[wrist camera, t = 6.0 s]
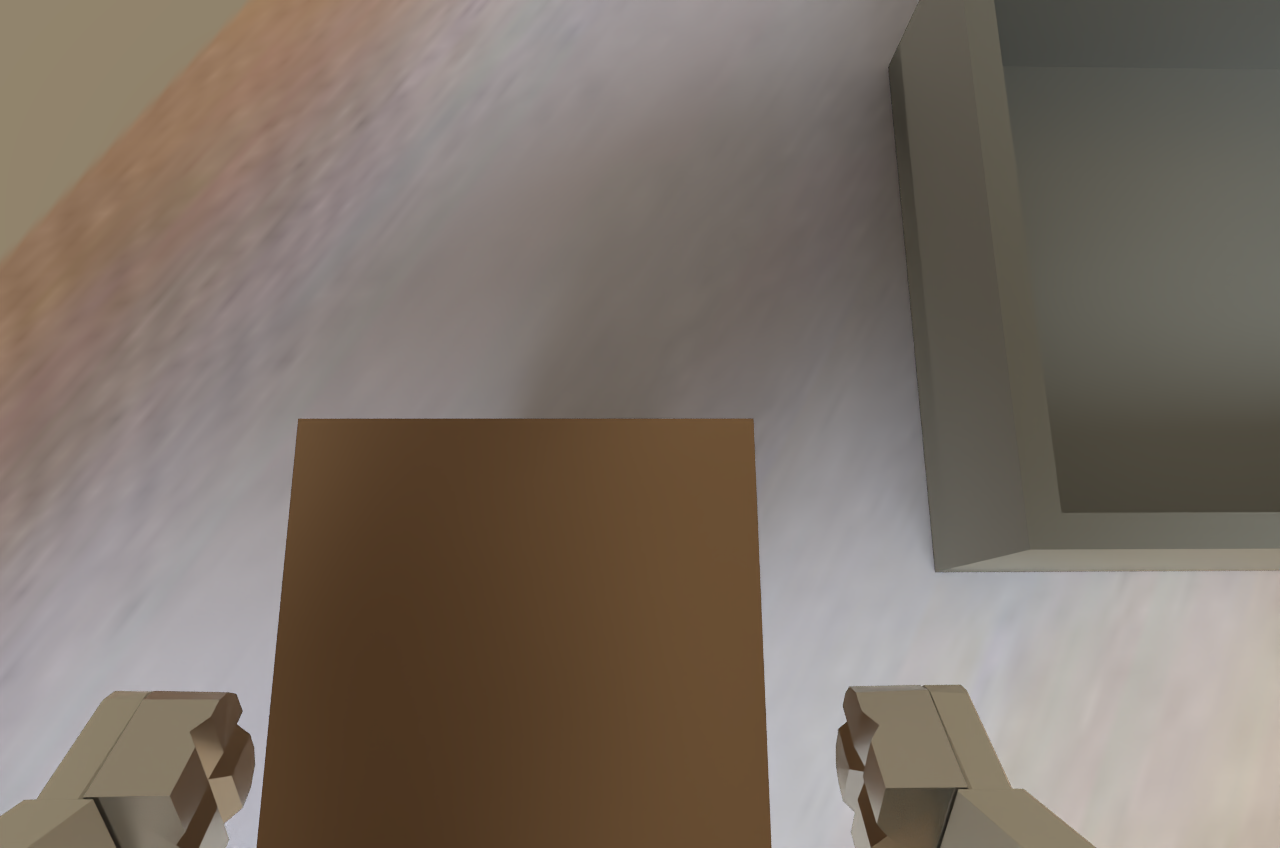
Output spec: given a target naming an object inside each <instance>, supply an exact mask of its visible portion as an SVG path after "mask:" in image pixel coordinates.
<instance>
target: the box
mask: <svg viewBox="0 0 1280 848" xmlns="http://www.w3.org/2000/svg"><path fill="white" fill-rule="evenodd" d="M888 68H889V79H890V90H891V101H892V111H893V122H894V133H895V144H896V154H897V165H898V176H899V187H900V197H901V208H902V219H903V230H904V241H905V251H906V262H907V273H908V284H909V294H910V305H911V316H912V327H913V337H914V348H915V359H916V370H917V381H918V391H919V402H920V413H921V424H922V434H923V445H924V456H925V467H926V477H927V488H928V499H929V510H930V521H931V531H932V542H933V553H934V564H935V572H1071V571H1277V570H1280V0H919V3H918V5H917V7H916V9H915V11H914V13H913V15H912V18H911V20H910V22H909V24H908V26H907V28H906V30H905V33H904V35H903V37H902V39H901V41H900V43H899V45H898V48H897V50H896V52H895V54H894V56H893V58H892V60H891V63H890V65H889V67H888Z"/></svg>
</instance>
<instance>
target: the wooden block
mask: <svg viewBox="0 0 1280 848" xmlns="http://www.w3.org/2000/svg"><path fill="white" fill-rule="evenodd" d="M257 848H771V827H770V803H769V779H768V755H767V731H766V707H765V683H764V659H763V635H762V612H761V588H760V564H759V540H758V516H757V492H756V468H755V444H754V420H753V419H298V427H297V437H296V448H295V458H294V468H293V478H292V489H291V499H290V509H289V520H288V530H287V540H286V551H285V561H284V571H283V581H282V592H281V602H280V612H279V623H278V633H277V643H276V654H275V664H274V674H273V684H272V695H271V705H270V715H269V726H268V736H267V746H266V757H265V767H264V777H263V787H262V798H261V808H260V818H259V829H258V839H257Z"/></svg>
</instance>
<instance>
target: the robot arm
mask: <svg viewBox="0 0 1280 848" xmlns="http://www.w3.org/2000/svg"><path fill="white" fill-rule="evenodd" d="M843 708H844V712H845V716H846V719H847V722H846V723H845V724H844V725H843V726H841V727H840V728H839V729H838V736H837V742H836V769H837V776H838V782H839V787H840V791H841V795H842V799H843V801H844V802H845V803H846V804H847V805H848V806H849V807H850V808H851V809H852V810H853V811H854V812H855V814H854V819H853V824H852V829H851V834H852V838H853V842H854V846H855V848H1096V847H1095V846H1093V845H1092V844H1091V843H1090V842H1088V841H1087V840H1086V839H1085V838H1084V837H1082V836H1081V835H1080V834H1079V833H1077V832H1076V831H1075V830H1074V829H1072V828H1071V827H1070V826H1069V825H1068V824H1066V823H1065V822H1064V821H1063V820H1061V819H1060V818H1059V817H1058V816H1056V815H1055V814H1054V813H1053V812H1052V811H1050V810H1049V809H1048V808H1047V807H1045V806H1044V805H1043V804H1042V803H1040V802H1039V801H1038V800H1037V799H1035V798H1034V797H1033V796H1032V795H1031V794H1029V793H1028V792H1027V791H1026V790H1024V789H1012V787H1011V785H1010V783H1009V780H1008V778H1007V776H1006V774H1005V772H1004V770H1003V767H1002V765H1001V763H1000V761H999V759H998V757H997V755H996V752H995V750H994V748H993V746H992V744H991V742H990V739H989V737H988V735H987V733H986V731H985V729H984V726H983V724H982V722H981V720H980V718H979V716H978V713H977V711H976V709H975V707H974V705H973V703H972V701H971V698H970V696H969V694H968V692H967V690H966V689H965V688H963V687H962V686H961V685H923V686H921V685H891V686H849V688H848V690H847V691H846V693H845V698H844V703H843ZM242 712H243V711H242V708H241V705H240V703H239V700H238V697H237V695H236V694H234V693H229V692H179V691H115V692H113V693H112V694H110V695H109V696H108V697H106V698H105V699H104V700H103V701H102V702H101V703H100V705H99V706H98V708H97V709H96V711H95V712H94V714H93V715H92V717H91V718H90V720H89V721H88V723H87V724H86V726H85V727H84V729H83V730H82V732H81V733H80V735H79V736H78V738H77V739H76V741H75V742H74V744H73V745H72V747H71V748H70V750H69V751H68V753H67V754H66V756H65V757H64V759H63V760H62V762H61V763H60V765H59V766H58V768H57V769H56V771H55V772H54V774H53V775H52V777H51V778H50V780H49V781H48V783H47V784H46V786H45V787H44V789H43V790H42V792H41V793H40V795H39V796H38V798H37V799H36V800H23V801H22V802H21V803H19V804H18V805H16V806H15V807H13V808H12V809H10V810H9V811H7V812H6V813H5V814H3V815H2V816H0V848H226V846H227V844H228V841H229V837H228V835H227V832H226V829H225V826H224V823H225V822H226V821H228V820H229V819H230V818H231V817H232V816H234V815H235V814H236V813H237V812H238V811H239V810H241V809H242V808H243V806H244V803H245V801H246V798H247V796H248V793H249V791H250V788H251V784H252V778H253V773H254V767H255V755H254V746H253V742H252V739H251V736H250V734H249V733H248V732H246V731H245V730H244V729H242V728H241V727H240V726H238V725H237V722H238V720H239V718H240V716H241V714H242Z"/></svg>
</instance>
